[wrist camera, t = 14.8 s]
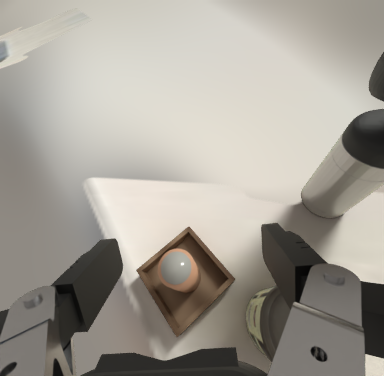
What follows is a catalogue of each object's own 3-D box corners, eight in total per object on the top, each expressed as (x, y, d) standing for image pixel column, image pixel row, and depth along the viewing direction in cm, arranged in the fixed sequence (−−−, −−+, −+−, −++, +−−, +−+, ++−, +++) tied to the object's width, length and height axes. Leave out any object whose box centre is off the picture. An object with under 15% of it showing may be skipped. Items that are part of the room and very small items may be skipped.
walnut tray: (191, 231, 43) (189, 226, 40) (233, 281, 37) (235, 279, 34) (142, 272, 39) (136, 270, 36) (180, 334, 33) (176, 337, 30)
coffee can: (322, 353, 30) (391, 386, 18) (258, 368, 30) (284, 411, 18) (292, 282, 35) (329, 271, 24) (237, 294, 35) (247, 289, 24)
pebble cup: (188, 255, 39) (179, 240, 31) (207, 278, 36) (202, 269, 28) (166, 274, 38) (150, 264, 29) (183, 300, 35) (171, 297, 26)
